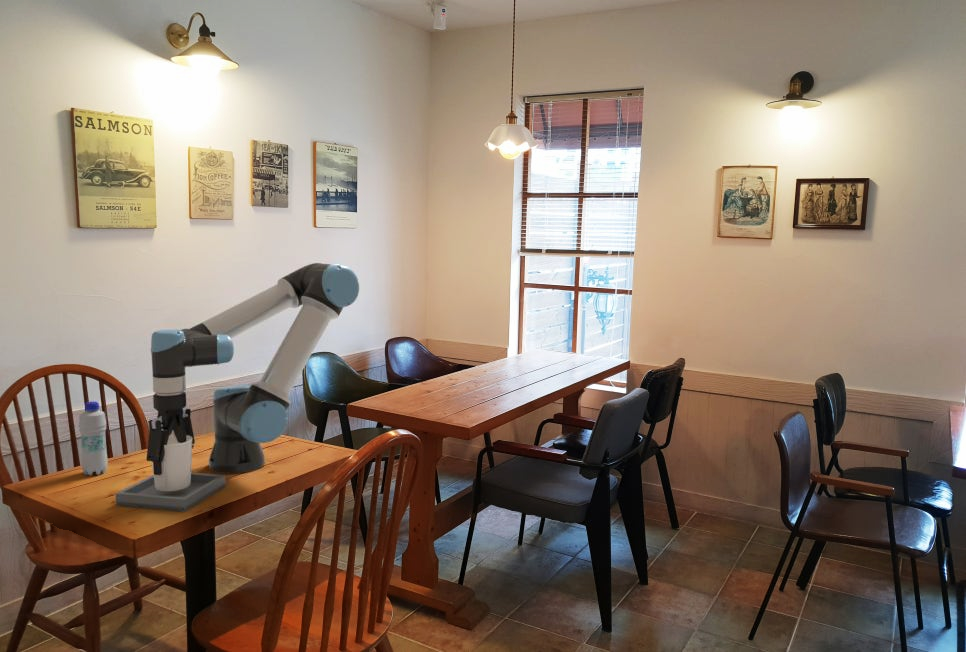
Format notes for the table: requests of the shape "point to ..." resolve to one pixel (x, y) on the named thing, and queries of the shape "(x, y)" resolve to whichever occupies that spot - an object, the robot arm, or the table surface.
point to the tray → (170, 493)
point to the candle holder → (177, 464)
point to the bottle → (93, 439)
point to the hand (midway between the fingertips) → (172, 480)
